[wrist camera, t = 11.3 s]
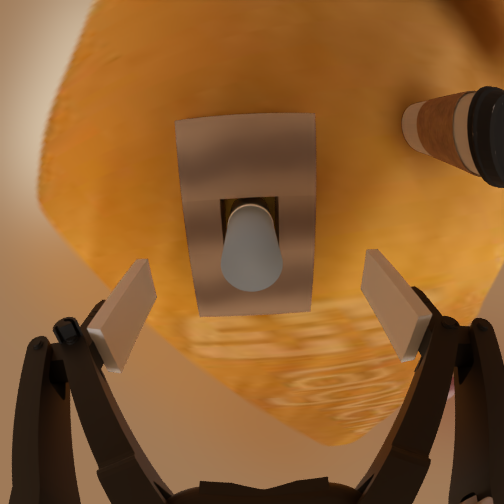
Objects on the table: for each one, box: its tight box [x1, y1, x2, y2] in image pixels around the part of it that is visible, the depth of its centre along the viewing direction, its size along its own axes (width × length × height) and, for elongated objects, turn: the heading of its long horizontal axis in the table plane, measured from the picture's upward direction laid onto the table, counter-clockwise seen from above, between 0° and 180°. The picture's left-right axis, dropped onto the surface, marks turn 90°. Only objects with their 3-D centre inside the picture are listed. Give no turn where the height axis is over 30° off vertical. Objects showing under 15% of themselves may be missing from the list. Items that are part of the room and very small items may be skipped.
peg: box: [221, 197, 283, 292], centre depth 24 cm, size 4×4×12 cm
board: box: [175, 113, 316, 317], centre depth 27 cm, size 20×12×4 cm, turn 3°
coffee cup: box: [402, 86, 504, 188], centre depth 18 cm, size 8×8×15 cm
